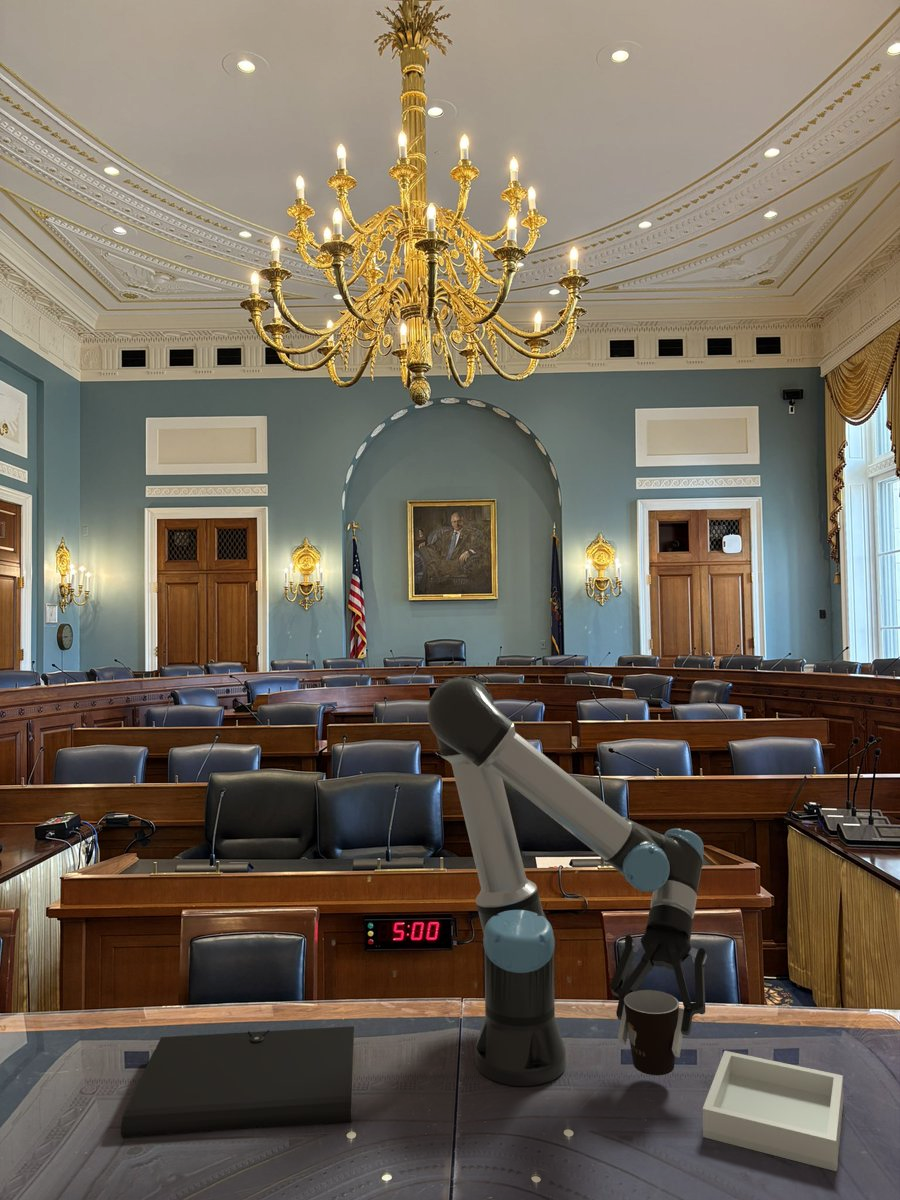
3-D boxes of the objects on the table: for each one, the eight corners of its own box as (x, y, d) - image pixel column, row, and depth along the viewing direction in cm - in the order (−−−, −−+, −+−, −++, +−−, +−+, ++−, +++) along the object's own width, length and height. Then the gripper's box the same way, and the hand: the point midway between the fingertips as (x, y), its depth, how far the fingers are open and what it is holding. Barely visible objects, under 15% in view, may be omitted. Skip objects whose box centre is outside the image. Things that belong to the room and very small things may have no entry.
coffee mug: (683, 1081, 131) (680, 1015, 132) (626, 1076, 133) (623, 1011, 133) (678, 1044, 143) (676, 983, 143) (626, 1040, 144) (623, 981, 145)
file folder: (354, 1023, 150) (351, 1102, 126) (354, 1047, 150) (351, 1130, 126) (161, 1034, 147) (120, 1117, 123) (161, 1058, 147) (120, 1145, 123)
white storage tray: (703, 1137, 122) (702, 1108, 122) (725, 1075, 138) (724, 1050, 138) (836, 1171, 114) (836, 1141, 114) (843, 1102, 130) (842, 1075, 130)
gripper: (735, 934, 147) (719, 1072, 132) (617, 914, 157) (590, 1041, 142) (730, 912, 143) (712, 1053, 128) (609, 893, 152) (580, 1022, 137)
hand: (648, 1047), depth 135 cm, fingers closed on coffee mug, 8 cm apart
